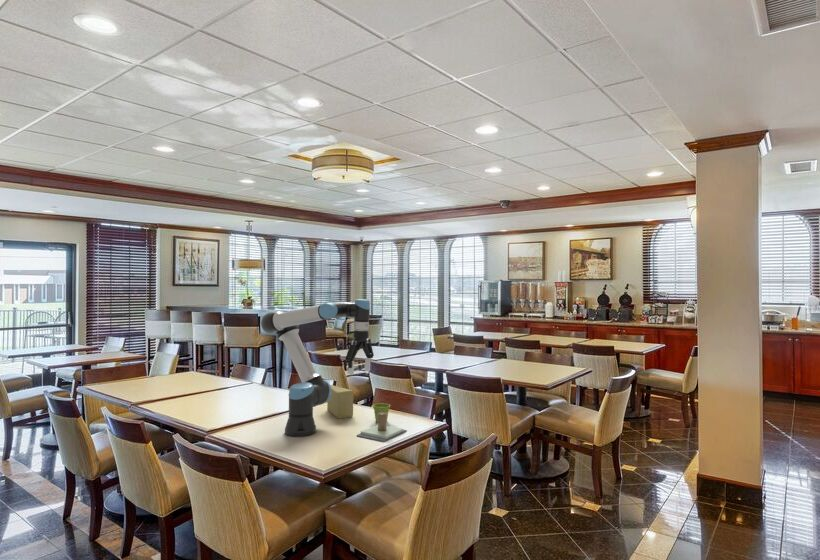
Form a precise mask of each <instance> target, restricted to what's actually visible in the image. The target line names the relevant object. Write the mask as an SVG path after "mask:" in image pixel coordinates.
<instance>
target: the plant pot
mask: <svg viewBox="0 0 820 560" xmlns="http://www.w3.org/2000/svg"><path fill="white" fill-rule="evenodd" d="M372 407H373V410H374V417H375V422H376V423H378V413H387V419H388V417H389V411H390V407H391V404H388V403H375V404H372Z"/></svg>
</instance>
